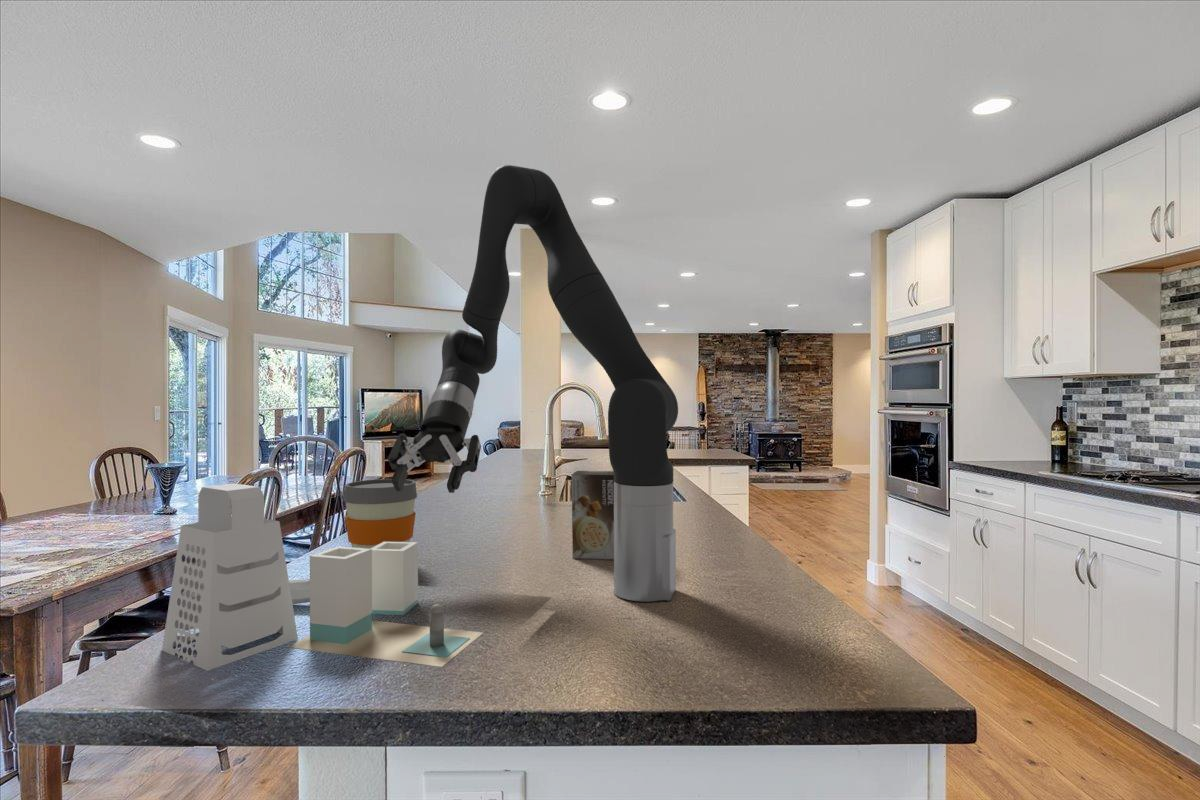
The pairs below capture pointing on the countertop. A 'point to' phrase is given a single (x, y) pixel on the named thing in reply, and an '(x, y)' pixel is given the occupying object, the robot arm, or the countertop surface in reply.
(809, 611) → the countertop surface
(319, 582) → the seated sleeve
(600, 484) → the coffee box
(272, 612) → the grater
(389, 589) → the sleeve
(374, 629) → the pin board
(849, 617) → the countertop surface
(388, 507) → the reusable coffee cup
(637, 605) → the countertop surface
